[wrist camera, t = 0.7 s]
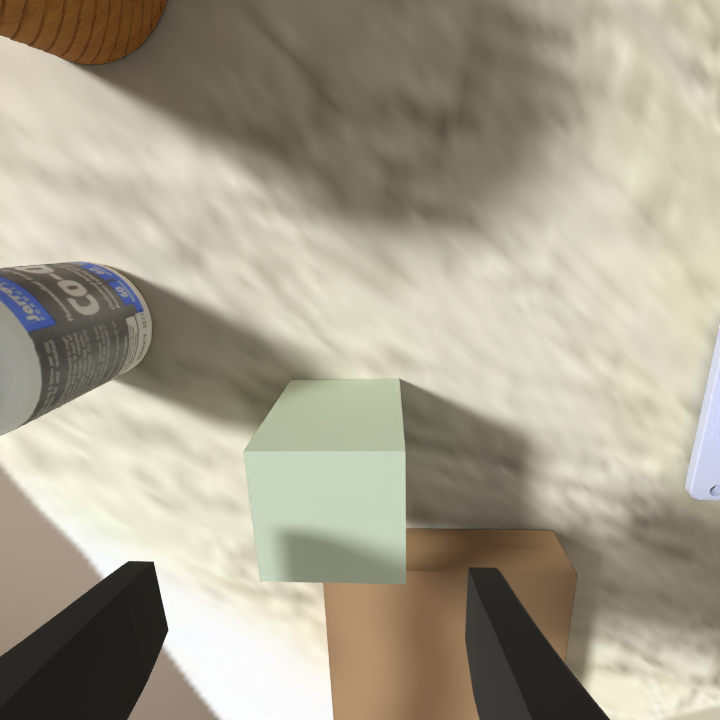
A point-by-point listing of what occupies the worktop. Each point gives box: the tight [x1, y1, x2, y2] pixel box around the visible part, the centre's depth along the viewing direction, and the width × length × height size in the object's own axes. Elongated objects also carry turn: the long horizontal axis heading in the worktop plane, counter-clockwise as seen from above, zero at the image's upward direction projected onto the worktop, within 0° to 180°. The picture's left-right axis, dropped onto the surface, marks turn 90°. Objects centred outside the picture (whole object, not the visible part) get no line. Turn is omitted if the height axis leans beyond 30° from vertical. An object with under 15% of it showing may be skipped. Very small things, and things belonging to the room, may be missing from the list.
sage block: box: [243, 379, 406, 584], centre depth 15 cm, size 4×4×6 cm
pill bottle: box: [0, 262, 152, 436], centre depth 13 cm, size 5×5×8 cm
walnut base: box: [323, 529, 577, 720], centre depth 19 cm, size 10×10×2 cm
